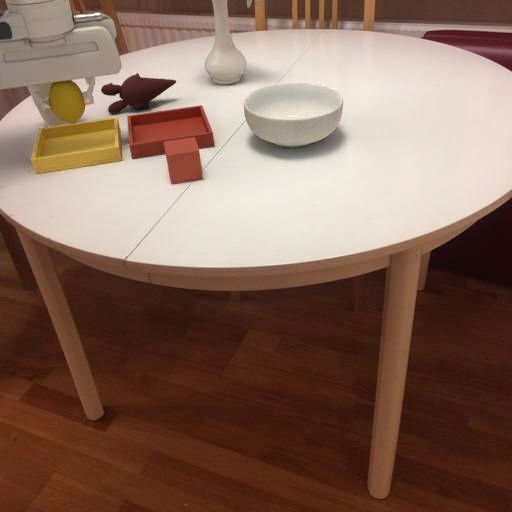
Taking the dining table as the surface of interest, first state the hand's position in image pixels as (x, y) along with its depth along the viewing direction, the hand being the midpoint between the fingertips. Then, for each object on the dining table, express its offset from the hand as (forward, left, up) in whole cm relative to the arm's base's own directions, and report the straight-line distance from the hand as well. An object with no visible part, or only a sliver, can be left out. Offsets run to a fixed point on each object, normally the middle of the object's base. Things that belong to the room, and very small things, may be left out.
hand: (68, 106), depth 88 cm
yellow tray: (0, 0, -8) cm, 8 cm away
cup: (-4, +13, -8) cm, 16 cm away
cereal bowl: (+37, -8, -8) cm, 39 cm away
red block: (+17, -15, -8) cm, 24 cm away
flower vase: (+32, +26, -8) cm, 42 cm away
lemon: (0, 0, -3) cm, 3 cm away
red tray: (+16, 0, -8) cm, 18 cm away
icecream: (+12, +17, -8) cm, 22 cm away
